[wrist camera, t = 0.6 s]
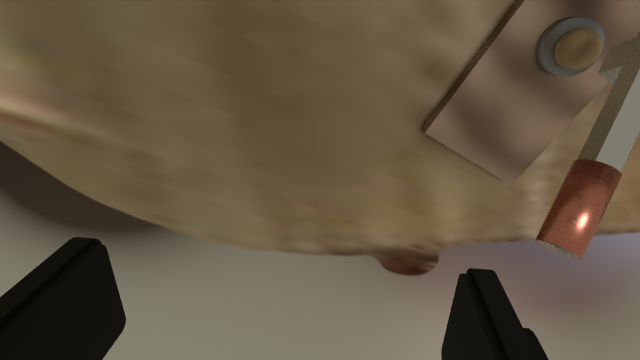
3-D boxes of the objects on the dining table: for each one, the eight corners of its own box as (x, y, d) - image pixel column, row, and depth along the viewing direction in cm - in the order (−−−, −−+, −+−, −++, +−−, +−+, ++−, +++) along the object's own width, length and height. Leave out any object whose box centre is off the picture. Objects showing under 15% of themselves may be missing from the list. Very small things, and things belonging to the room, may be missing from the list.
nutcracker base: (571, -74, 33) (658, -102, 24) (669, -1, 35) (788, 2, 25) (422, 127, 43) (440, 166, 33) (504, 177, 45) (545, 229, 35)
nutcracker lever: (639, -23, 29) (701, -56, 25) (665, -3, 29) (731, -32, 25) (513, 232, 27) (558, 242, 23) (543, 250, 28) (593, 262, 24)
